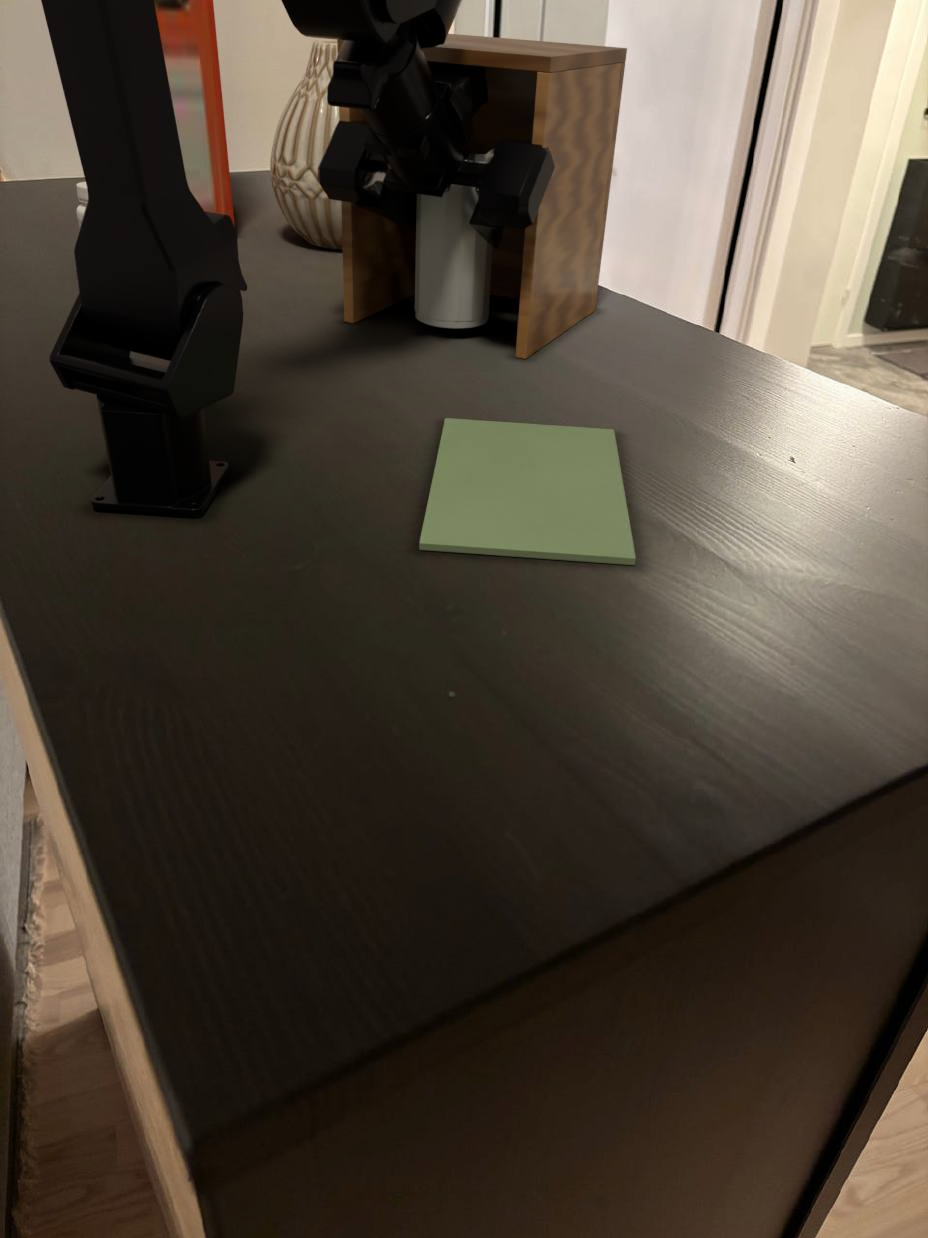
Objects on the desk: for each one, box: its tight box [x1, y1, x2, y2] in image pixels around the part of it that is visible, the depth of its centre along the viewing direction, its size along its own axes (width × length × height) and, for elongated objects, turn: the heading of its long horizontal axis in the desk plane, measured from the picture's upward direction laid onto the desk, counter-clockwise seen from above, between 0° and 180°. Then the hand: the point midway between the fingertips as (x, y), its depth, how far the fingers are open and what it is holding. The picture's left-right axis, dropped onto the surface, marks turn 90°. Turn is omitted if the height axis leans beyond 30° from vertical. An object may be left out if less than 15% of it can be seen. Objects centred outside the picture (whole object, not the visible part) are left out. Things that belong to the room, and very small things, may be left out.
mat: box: [418, 417, 637, 566], centre depth 60 cm, size 18×12×1 cm, turn 176°
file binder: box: [154, 0, 236, 227], centre depth 108 cm, size 8×17×32 cm, turn 14°
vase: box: [269, 39, 343, 251], centre depth 106 cm, size 16×16×20 cm
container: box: [414, 184, 493, 329], centre depth 82 cm, size 7×7×13 cm
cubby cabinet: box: [337, 33, 628, 360], centre depth 83 cm, size 17×18×22 cm
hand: (462, 236), depth 83 cm, fingers closed on container, 6 cm apart
